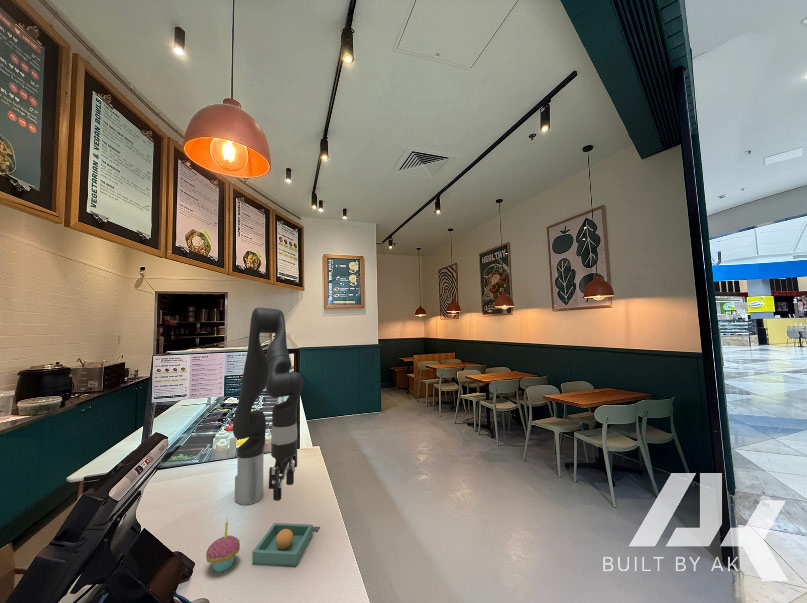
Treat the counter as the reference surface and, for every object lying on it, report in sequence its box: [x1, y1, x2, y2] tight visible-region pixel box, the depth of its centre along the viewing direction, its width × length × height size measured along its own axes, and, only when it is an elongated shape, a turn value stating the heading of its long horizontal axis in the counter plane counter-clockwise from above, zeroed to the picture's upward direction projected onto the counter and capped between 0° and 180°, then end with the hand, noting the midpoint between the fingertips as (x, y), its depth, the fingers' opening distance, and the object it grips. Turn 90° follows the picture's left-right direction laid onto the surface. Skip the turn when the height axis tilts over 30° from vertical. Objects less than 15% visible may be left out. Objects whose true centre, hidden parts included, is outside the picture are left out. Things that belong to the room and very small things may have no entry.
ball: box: [276, 529, 293, 549], centre depth 100 cm, size 5×5×5 cm
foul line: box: [313, 526, 321, 533], centre depth 109 cm, size 15×2×1 cm, turn 85°
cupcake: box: [205, 518, 241, 573], centre depth 94 cm, size 9×8×12 cm
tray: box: [251, 522, 314, 568], centre depth 100 cm, size 13×13×4 cm
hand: (283, 492), depth 100 cm, fingers open, 8 cm apart
